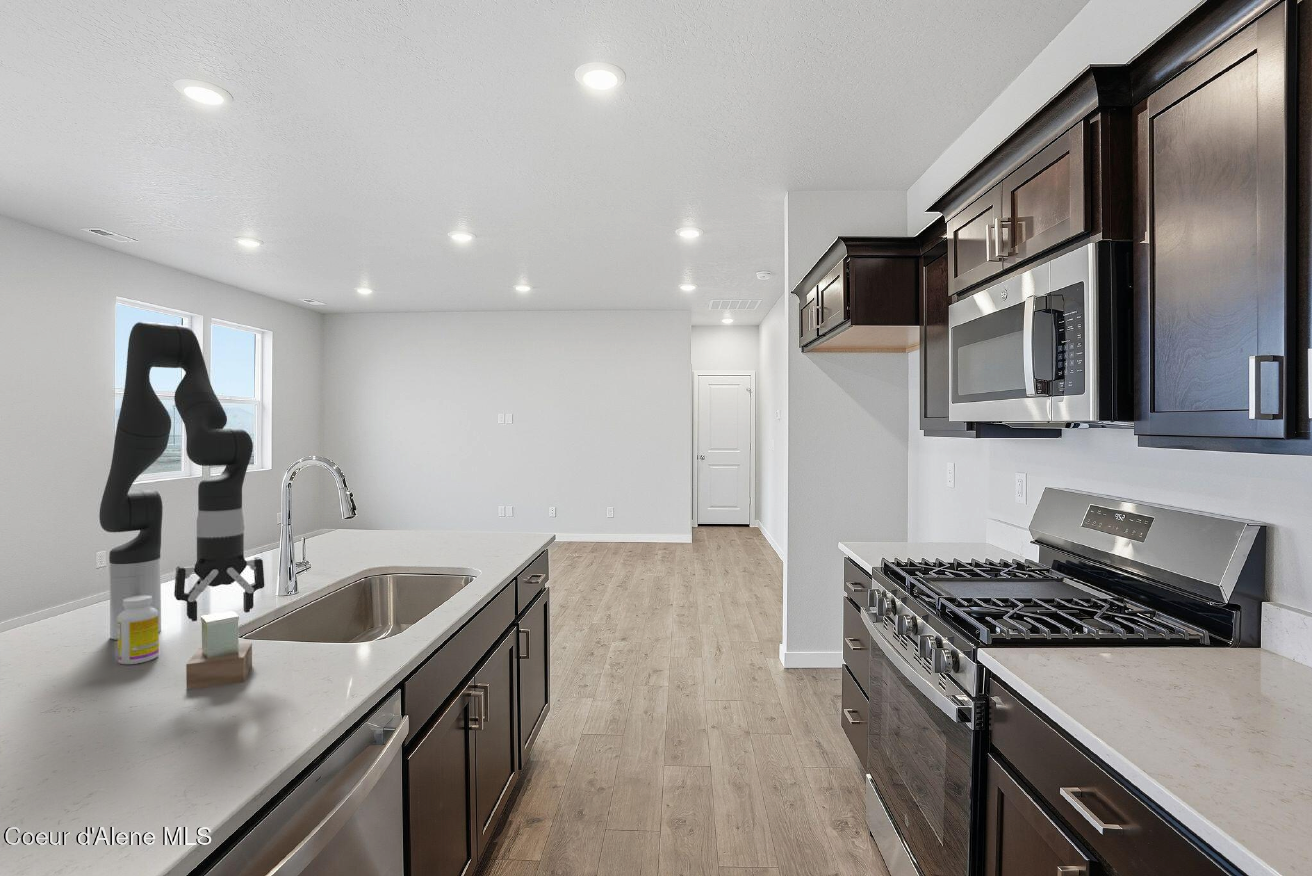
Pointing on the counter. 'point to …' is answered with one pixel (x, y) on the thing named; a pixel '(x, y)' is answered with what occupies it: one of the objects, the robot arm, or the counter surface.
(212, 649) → the tea tin
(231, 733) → the counter surface
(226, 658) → the walnut block
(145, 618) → the supplement bottle
